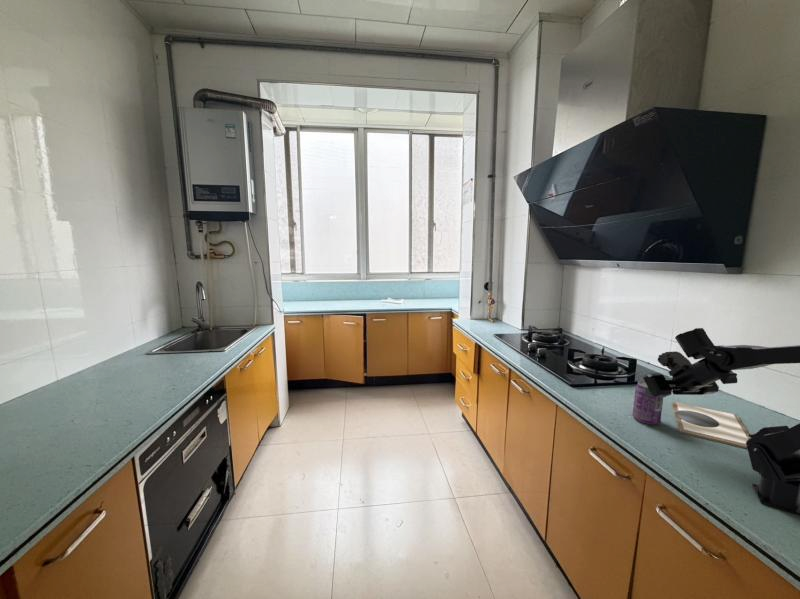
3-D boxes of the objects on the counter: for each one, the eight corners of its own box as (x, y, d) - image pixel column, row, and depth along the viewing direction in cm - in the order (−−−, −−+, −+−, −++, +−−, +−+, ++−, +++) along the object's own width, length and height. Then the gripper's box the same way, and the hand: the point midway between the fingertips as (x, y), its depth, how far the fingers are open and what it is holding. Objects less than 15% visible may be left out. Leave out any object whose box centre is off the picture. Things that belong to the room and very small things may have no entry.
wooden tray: (758, 451, 87) (758, 448, 86) (679, 432, 96) (680, 429, 96) (736, 416, 104) (736, 413, 104) (672, 403, 113) (672, 400, 113)
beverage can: (658, 418, 104) (662, 382, 102) (662, 428, 98) (666, 391, 96) (631, 412, 108) (634, 378, 106) (633, 422, 102) (637, 386, 100)
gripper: (714, 344, 90) (672, 367, 103) (653, 347, 89) (618, 370, 101) (741, 382, 84) (693, 402, 97) (676, 386, 82) (636, 405, 95)
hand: (659, 393), depth 98 cm, fingers open, 9 cm apart
